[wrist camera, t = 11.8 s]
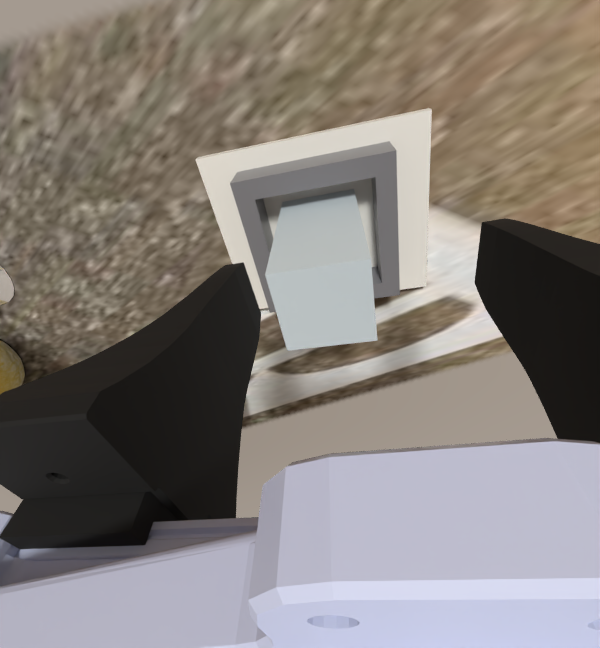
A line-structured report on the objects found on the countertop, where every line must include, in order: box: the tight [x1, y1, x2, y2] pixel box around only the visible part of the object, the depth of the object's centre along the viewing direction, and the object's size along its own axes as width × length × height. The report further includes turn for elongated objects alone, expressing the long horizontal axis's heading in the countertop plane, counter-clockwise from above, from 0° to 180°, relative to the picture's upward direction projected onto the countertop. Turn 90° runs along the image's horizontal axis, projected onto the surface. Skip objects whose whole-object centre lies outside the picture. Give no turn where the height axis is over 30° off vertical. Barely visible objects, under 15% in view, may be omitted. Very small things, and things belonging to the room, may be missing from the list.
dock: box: [196, 108, 432, 312], centre depth 20 cm, size 12×10×2 cm
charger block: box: [265, 189, 377, 351], centre depth 17 cm, size 4×4×8 cm
